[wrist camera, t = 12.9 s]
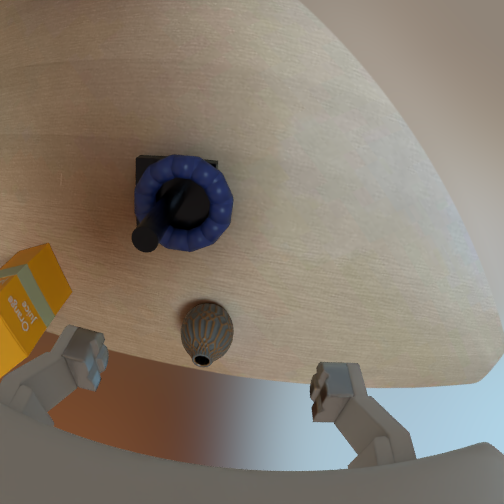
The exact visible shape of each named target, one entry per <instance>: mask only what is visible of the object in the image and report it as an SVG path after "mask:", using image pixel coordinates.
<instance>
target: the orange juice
mask: <svg viewBox="0 0 504 504" xmlns="http://www.w3.org/2000/svg"><path fill="white" fill-rule="evenodd" d="M71 293H72V290H71V288H70V286H69V284H68V282H67V280H66V278H65V276H64V274H63V272H62V270H61V268H60V266H59V264H58V262H57V260H56V257H55V255H54V253H53V251H52V249H51V246H50V244H49V243H47V244H43V245H39V246H36V247H32V248H28V249H25V250H21V251H19V252H18V253H17V254H15V255H14V256H13V257H12V258H11V259H10V260H9V261H8V262H7V263H6V264H5V265H4V266H3V267H2V268H1V269H0V378H1V377H2V376H4V375H5V374H6V373H7V372H9V371H10V370H11V369H12V368H13V367H14V366H16V365H17V364H18V363H20V362H21V361H22V360H23V359H25V358H27V357H28V355H29V354H30V353H31V351H32V349H33V348H34V346H35V345H36V343H37V342H38V340H39V339H40V337H41V336H42V334H43V333H44V331H45V330H46V328H47V327H48V326H49V325H50V323H51V322H52V320H53V319H54V317H55V315H56V314H57V312H58V311H59V310H60V308H61V307H62V305H63V304H64V303H65V301H66V300H67V299H68V297H69V296H70V294H71Z"/></svg>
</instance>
